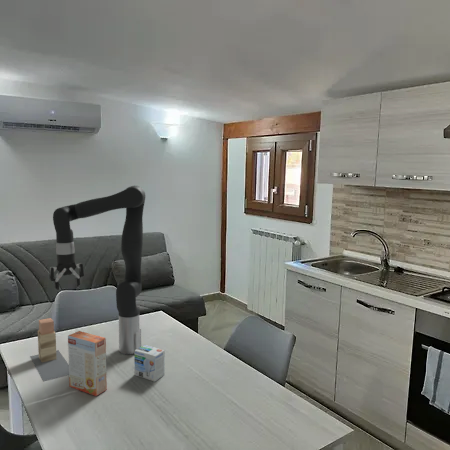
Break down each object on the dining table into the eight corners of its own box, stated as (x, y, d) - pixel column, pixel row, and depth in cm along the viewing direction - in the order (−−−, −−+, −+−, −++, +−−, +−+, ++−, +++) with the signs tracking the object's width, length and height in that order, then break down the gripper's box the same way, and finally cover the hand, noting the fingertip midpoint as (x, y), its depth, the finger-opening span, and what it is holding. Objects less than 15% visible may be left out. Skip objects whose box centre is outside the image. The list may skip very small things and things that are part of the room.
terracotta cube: (54, 332, 185) (53, 321, 184) (41, 334, 182) (41, 323, 181) (51, 328, 189) (50, 317, 188) (39, 331, 186) (38, 320, 185)
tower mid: (56, 345, 185) (55, 332, 184) (41, 349, 182) (40, 335, 181) (52, 341, 190) (52, 328, 189) (38, 344, 187) (37, 330, 186)
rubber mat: (74, 374, 174) (74, 373, 174) (43, 382, 167) (43, 381, 167) (58, 350, 195) (58, 350, 195) (29, 357, 188) (29, 356, 188)
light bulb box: (133, 375, 174) (133, 350, 173) (144, 368, 180) (144, 344, 179) (155, 382, 169) (155, 356, 168) (165, 374, 175) (165, 349, 174)
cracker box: (107, 389, 163) (106, 337, 160) (96, 397, 157) (94, 342, 155) (80, 380, 169) (79, 329, 166) (68, 387, 164) (67, 335, 161)
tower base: (56, 359, 186) (56, 345, 185) (41, 362, 183) (41, 349, 182) (53, 354, 191) (52, 341, 190) (38, 357, 188) (38, 344, 187)
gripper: (79, 249, 196) (80, 283, 198) (46, 252, 188) (48, 288, 190) (84, 251, 190) (86, 287, 192) (50, 255, 182) (53, 292, 184)
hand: (67, 288), depth 191 cm, fingers open, 8 cm apart
